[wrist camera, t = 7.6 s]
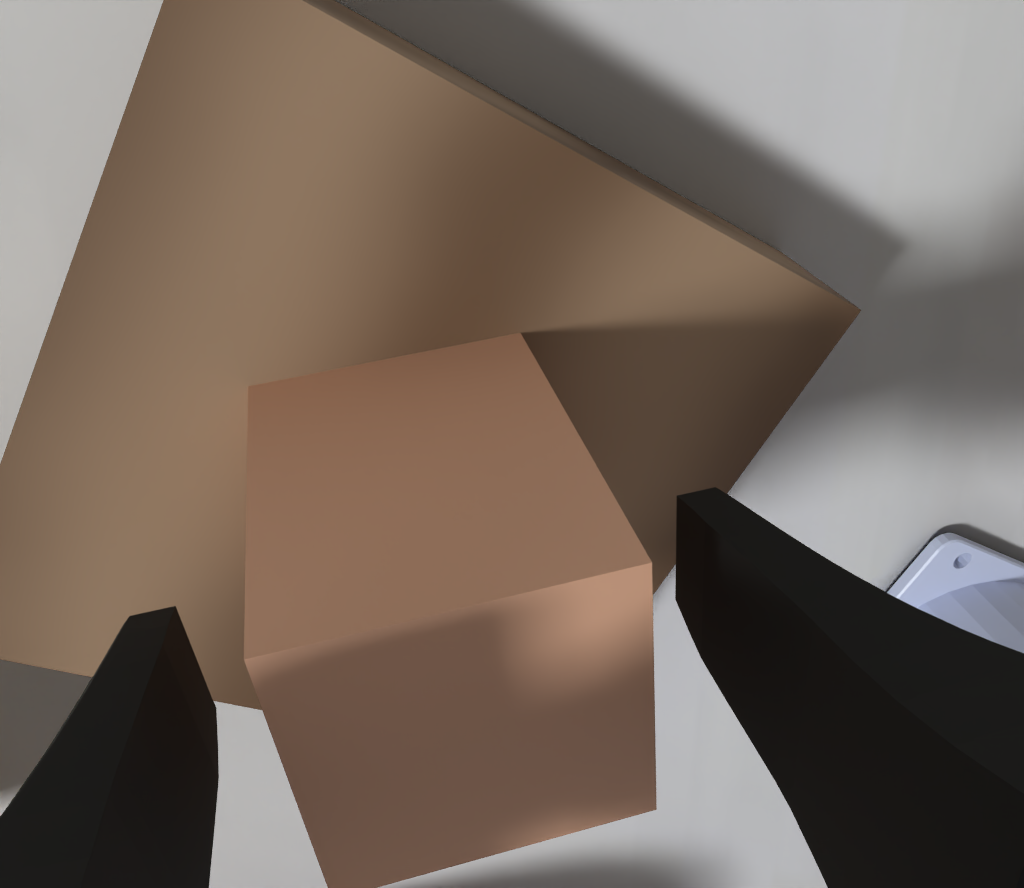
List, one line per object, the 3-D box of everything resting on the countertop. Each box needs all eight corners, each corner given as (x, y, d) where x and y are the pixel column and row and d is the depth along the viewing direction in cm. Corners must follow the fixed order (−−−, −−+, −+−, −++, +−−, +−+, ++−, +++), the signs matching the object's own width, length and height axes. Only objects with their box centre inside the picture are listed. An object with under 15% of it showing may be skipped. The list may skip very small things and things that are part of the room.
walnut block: (780, 252, 19) (861, 309, 16) (501, 666, 23) (530, 762, 21) (199, -76, 13) (186, -65, 11) (-20, 539, 18) (-65, 646, 15)
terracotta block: (520, 332, 15) (651, 562, 10) (541, 541, 17) (656, 809, 12) (248, 385, 14) (243, 659, 9) (309, 595, 17) (332, 900, 12)
